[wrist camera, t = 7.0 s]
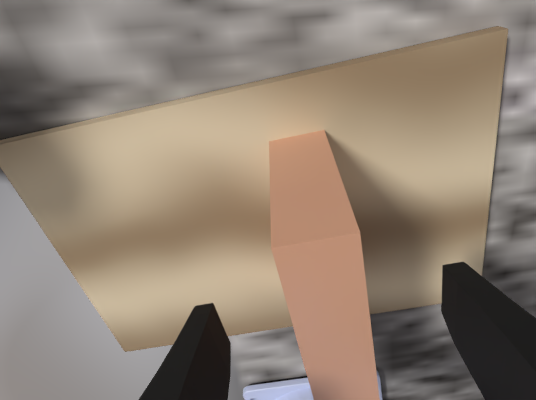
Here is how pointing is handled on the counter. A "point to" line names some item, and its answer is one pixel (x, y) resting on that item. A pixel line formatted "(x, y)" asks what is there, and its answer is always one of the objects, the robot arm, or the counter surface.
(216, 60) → the counter surface
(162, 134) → the mat
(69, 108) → the counter surface
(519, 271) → the counter surface
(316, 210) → the tile
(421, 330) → the counter surface
